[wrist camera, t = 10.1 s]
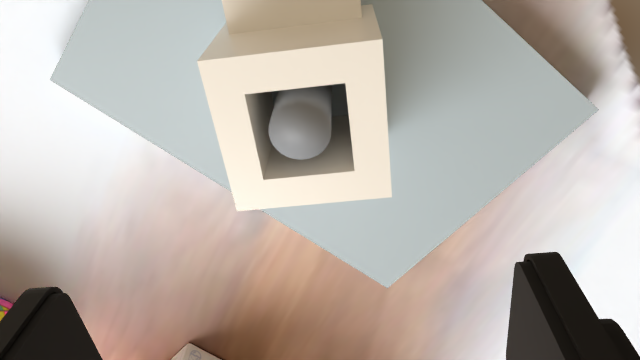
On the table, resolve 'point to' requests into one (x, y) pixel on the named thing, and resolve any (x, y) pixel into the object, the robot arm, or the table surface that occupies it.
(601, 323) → the robot arm
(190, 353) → the light bulb box
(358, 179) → the cream stepped socket block
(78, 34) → the post board
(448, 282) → the table surface
